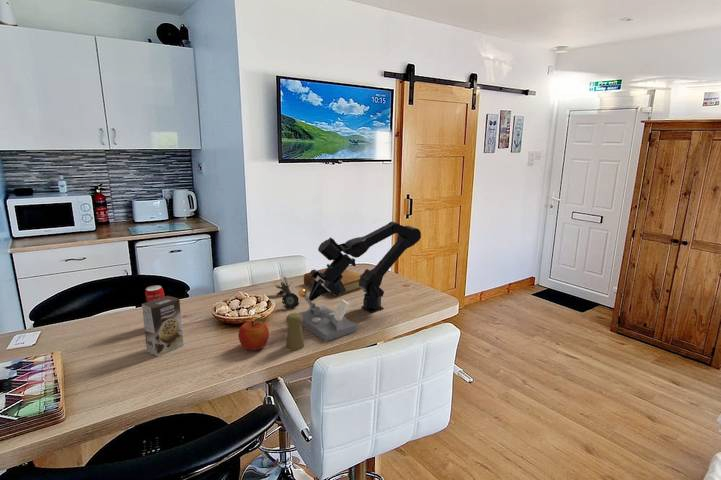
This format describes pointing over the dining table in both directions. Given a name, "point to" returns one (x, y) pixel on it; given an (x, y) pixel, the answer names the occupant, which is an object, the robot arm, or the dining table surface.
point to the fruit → (253, 334)
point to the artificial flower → (288, 295)
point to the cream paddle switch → (340, 311)
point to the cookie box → (162, 325)
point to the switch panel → (326, 323)
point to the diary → (348, 280)
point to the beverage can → (154, 292)
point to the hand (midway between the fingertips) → (309, 300)
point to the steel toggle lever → (306, 298)
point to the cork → (294, 332)
